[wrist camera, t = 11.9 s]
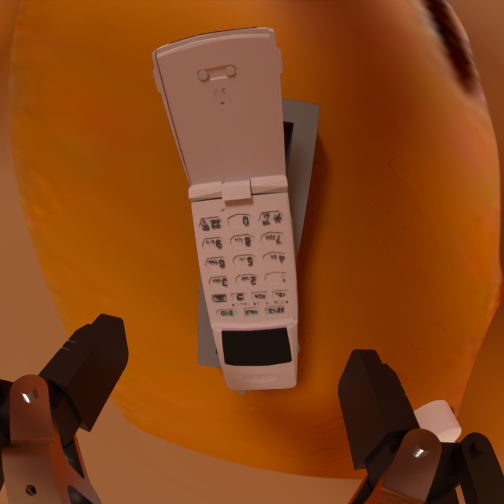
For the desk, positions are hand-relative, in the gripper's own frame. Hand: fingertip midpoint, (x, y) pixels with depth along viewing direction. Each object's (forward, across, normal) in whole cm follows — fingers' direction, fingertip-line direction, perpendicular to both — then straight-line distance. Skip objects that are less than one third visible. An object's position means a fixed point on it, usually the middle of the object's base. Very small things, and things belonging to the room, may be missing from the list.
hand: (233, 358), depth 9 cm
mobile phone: (+11, 0, 0) cm, 11 cm away
